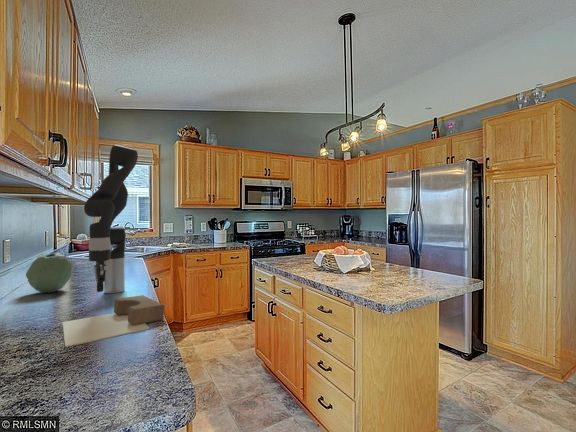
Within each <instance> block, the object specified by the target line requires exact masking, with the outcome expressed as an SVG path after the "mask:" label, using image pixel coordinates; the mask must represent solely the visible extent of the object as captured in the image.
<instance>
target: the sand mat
mask: <svg viewBox="0 0 576 432" xmlns="http://www.w3.org/2000/svg"><path fill="white" fill-rule="evenodd" d="M146 330H150V327H149V326H148V325H147V323H143V324H138V325H132V324H130V323H129V322H128V315H117V314H116V313H114V312H112V313H107V314H102V315H96V316H91V317H90V316H89V317H85V318H80V319H74V320H68V321H62V333H63V339H64V340H63V341H64V348H68V347H73V345H74V346H77V345H78V346H79V345H82V344H87V343H91V342H96V341H102V340H105V339H111V338H115V337H119V336H123V335H128V334H132V333H137V332H143V331H146Z"/></svg>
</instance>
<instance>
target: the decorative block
mask: <svg viewBox="0 0 576 432" xmlns="http://www.w3.org/2000/svg"><path fill="white" fill-rule="evenodd" d="M113 303H114V307H113V313H116V314H117V315H128V322H129V323H130V324H132V325H138V324H143V323H145V324H147V323H153V322H158V321H163V320H164V318H165V305H164V304H163V303H160V302H158V301H156V300H154V299H151V298H150V297H148V296H145V295H135V296H128V297H127V296H126V297H118V298H115V299H114V302H113Z"/></svg>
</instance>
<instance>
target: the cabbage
mask: <svg viewBox="0 0 576 432" xmlns="http://www.w3.org/2000/svg"><path fill="white" fill-rule="evenodd" d="M72 267H73V261H72V260H69V257H68V256H66V255H64V254H63V253H62V252H58V251H57V252H56V253H50V254H41V255H40V256H38V257H37V258H36V259H34V260H33V261H32V263H31V264H30V266H29V268H28V269H27V270H26V273H25V276H26V279H27V283H28V284H29V285H30V287H32V288H33V289H34V290H35V291H37V292H39V293H44V294H47V292H48V294H49V293H50V292H51V293H54V292H57V291H59V290H61V289H62V288H64V287H65V285H66V284H68V282H69V281H70V279H71V277H72V275H73V273H72V269H73V268H72Z"/></svg>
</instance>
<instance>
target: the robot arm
mask: <svg viewBox="0 0 576 432" xmlns="http://www.w3.org/2000/svg"><path fill="white" fill-rule="evenodd" d="M109 151H110V153H109V161H108V175H107V176H105V178H104V179H103V180H102V182H101V184H100V185H99V187H98V189H97V191H95V192H94V193H92V195H91V196H89V197H88V198H87V200H86V201H85V203H84V206H83V211H84V214H85V215H86V216H88V217H90V218H100V219H99V221H97V222H94V223H93V222H92V223H91V224H90V225H89V241H88V260H89V262H95V264H94V265H93V270H94V277H95V282H96V292H97V293H101V292H103V293H104V294H115V293H116V294H118V293H122V292H125V290H126V289H125V288H126V287H125V280H126V279H125V278H126V277H125V276H126V273H125V272H126V271H125V269H126V268H125V267H126V266H125V253H126V251H125V250H126V249H125V248H126V247H125V246H126V230H125V228H124V227H123V226H113V225H112V224H113V223H114V220H115V219H116V218H117V217H118V216H119V215H120V214H121V213H122V212H123V210H124V209H125V208H126V206H127V204H128V196H129V192H128V189H127V187H126V184H125V183H124V182H125V180H126V179H127V178H128V176H129V175H130V174H131V172H132V171H133V169H134V168H135V167H136V165H137V162H138V156H139V153H138V151H137V150H136V149H133V148H130V147H127V146H122V145H119V144H113V145H112V146H111V148H110V150H109ZM119 167H121V168H119ZM111 246H115V247H114V248H111Z"/></svg>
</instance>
